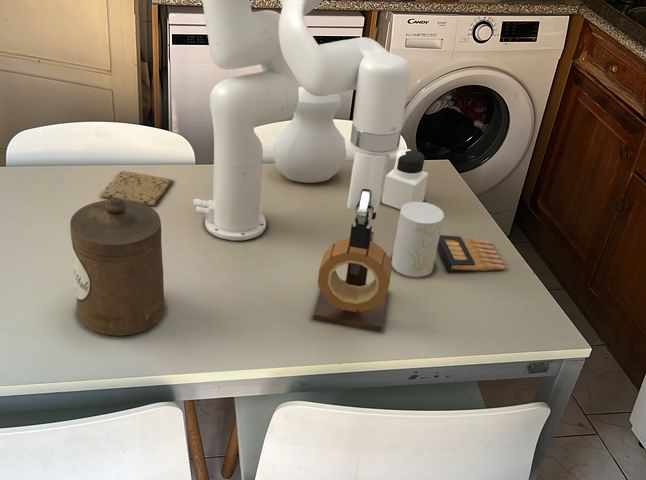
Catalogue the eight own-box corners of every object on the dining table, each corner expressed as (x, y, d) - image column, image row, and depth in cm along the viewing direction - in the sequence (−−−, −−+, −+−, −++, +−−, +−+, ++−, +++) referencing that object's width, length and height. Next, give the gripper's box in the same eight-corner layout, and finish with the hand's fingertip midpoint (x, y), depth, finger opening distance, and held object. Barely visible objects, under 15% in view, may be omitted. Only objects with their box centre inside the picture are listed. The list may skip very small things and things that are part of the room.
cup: (407, 280, 156) (418, 227, 149) (383, 259, 161) (392, 206, 154) (441, 271, 159) (452, 218, 152) (416, 250, 165) (426, 198, 158)
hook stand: (312, 323, 143) (319, 261, 135) (323, 282, 153) (331, 223, 146) (380, 335, 141) (391, 273, 134) (387, 293, 152) (397, 233, 144)
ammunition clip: (448, 271, 159) (507, 273, 160) (451, 263, 158) (509, 266, 159) (434, 242, 167) (489, 244, 169) (436, 234, 166) (492, 237, 168)
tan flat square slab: (173, 181, 182) (173, 177, 181) (154, 206, 172) (154, 202, 171) (122, 172, 184) (122, 168, 183) (101, 197, 174) (100, 193, 173)
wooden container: (88, 282, 148) (79, 175, 136) (169, 288, 148) (168, 181, 136) (68, 333, 136) (56, 220, 124) (157, 339, 136) (154, 227, 124)
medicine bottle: (423, 201, 182) (433, 152, 175) (410, 213, 177) (419, 164, 170) (395, 191, 185) (403, 143, 178) (381, 203, 180) (388, 154, 173)
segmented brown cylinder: (315, 304, 142) (321, 247, 135) (319, 289, 146) (326, 232, 139) (383, 316, 140) (393, 258, 133) (386, 301, 144) (396, 243, 137)
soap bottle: (275, 188, 182) (284, 61, 165) (268, 165, 191) (276, 42, 175) (348, 188, 185) (364, 62, 168) (337, 164, 194) (352, 43, 177)
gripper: (358, 112, 132) (346, 204, 142) (343, 156, 118) (332, 255, 128) (404, 118, 131) (389, 210, 141) (395, 163, 117) (379, 263, 127)
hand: (362, 232), depth 134 cm, fingers open, 9 cm apart
